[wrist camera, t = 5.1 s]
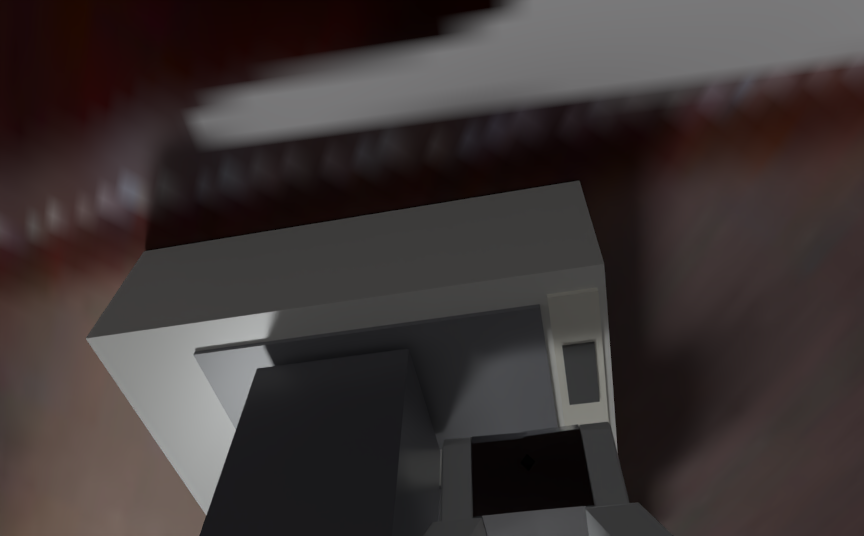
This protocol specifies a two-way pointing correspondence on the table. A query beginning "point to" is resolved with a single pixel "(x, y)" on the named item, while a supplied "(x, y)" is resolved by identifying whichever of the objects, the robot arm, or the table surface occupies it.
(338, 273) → the switch panel
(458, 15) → the table surface
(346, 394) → the tab
